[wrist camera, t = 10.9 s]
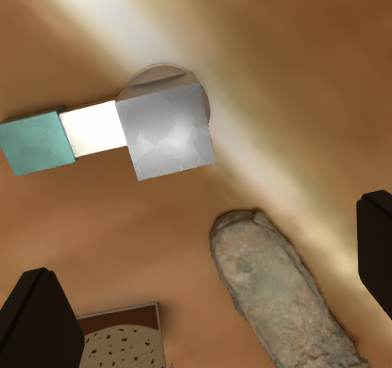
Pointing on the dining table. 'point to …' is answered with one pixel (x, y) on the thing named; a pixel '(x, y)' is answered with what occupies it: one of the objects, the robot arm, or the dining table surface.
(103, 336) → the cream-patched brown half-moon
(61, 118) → the ratchet
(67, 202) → the dining table surface
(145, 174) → the brushed metal cube
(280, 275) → the elongated rock
